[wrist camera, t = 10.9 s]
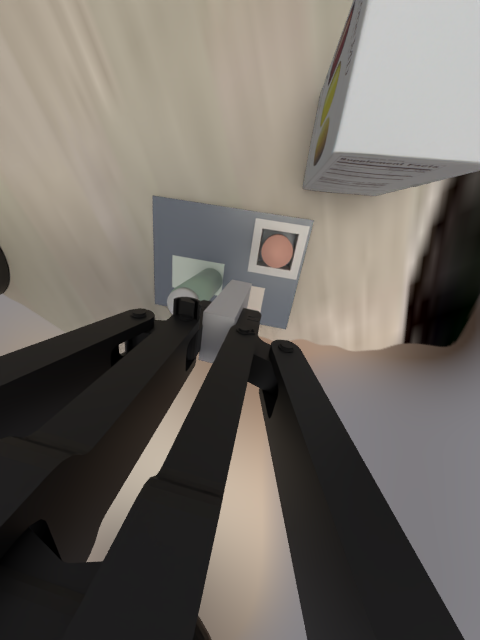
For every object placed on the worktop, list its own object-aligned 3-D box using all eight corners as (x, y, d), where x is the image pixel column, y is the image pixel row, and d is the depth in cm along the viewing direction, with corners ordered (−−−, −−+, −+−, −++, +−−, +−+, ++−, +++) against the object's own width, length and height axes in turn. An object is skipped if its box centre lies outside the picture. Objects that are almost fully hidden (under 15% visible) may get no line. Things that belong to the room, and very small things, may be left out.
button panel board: (156, 302, 37) (143, 311, 34) (154, 196, 31) (138, 192, 27) (285, 327, 36) (286, 339, 32) (313, 220, 29) (318, 220, 25)
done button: (260, 259, 30) (258, 265, 26) (265, 231, 29) (264, 233, 25) (287, 264, 30) (288, 270, 26) (293, 236, 28) (296, 238, 25)
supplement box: (319, 91, 24) (394, -137, 9) (408, 95, 23) (665, -151, 8) (300, 191, 28) (330, 155, 13) (376, 198, 27) (505, 168, 12)
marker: (199, 288, 34) (165, 317, 24) (201, 264, 33) (165, 284, 22) (222, 292, 34) (197, 323, 23) (225, 269, 33) (199, 291, 22)
